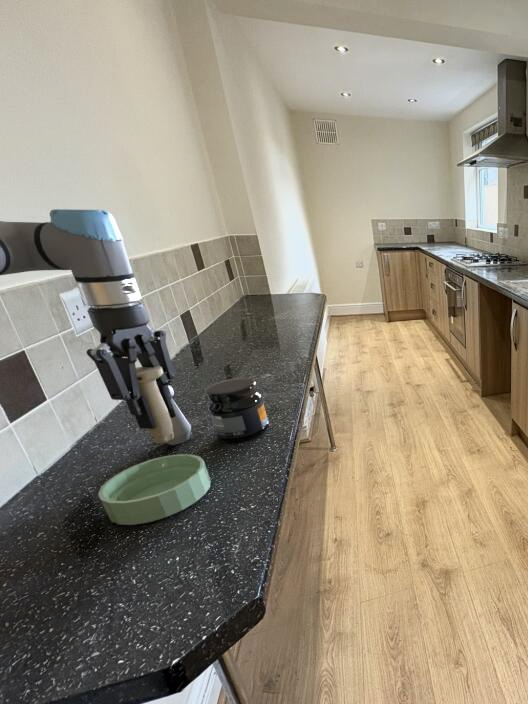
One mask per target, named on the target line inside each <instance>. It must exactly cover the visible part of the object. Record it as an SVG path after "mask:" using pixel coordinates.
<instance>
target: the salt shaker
mask: <svg viewBox="0 0 528 704" xmlns="http://www.w3.org/2000/svg"><path fill="white" fill-rule="evenodd" d="M168 387H169V390H170V393H171V396H172V397H173V396H174V395H175V392H174V388H173V387H172V386H168ZM171 403H172V406H173V409H174V412H175V414H176V416H175V417H173V418H171V421H172V426H173V432H174V438H173V439H172V440H169V441H167V442H165V443H166V444H167V445H170V446H176V445H180V444H183V443H185V442H186V441H188V440H190V438H191V431H192V426H191V424H190V422H189V421H188V420H187V418H186V417H185V415H184V414H183V412H182V411H181V409H180V408H179V406H178V405H177V403H176V402H175V400H174V399H173V398H172V399H171ZM165 443H164V444H165Z"/></svg>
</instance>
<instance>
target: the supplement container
mask: <svg viewBox="0 0 528 704" xmlns="http://www.w3.org/2000/svg"><path fill="white" fill-rule="evenodd" d="M204 394H205V396H206V399H207V400H208V401H207V403H206V409H207V410H208V413H209V416H210V419H211V422H212V425H213V428H214V432H215V436H216V437H217V439H218V440H219V441H221V442H224V443H231V444H233V443H242V442H247V441H249V440H253V439H255V438H257V437H259V436H262V435H263V434H264V433H265V432H266V431H267V430H268V428H269V426H270V421H269V419H268V415H267V412H266V411H267V410H266V409H265V404H264V400H263V394H262V393H261V392H260V391H259V390H258V385H257V381H256V380H255V379H253V378H249V377H236V378H229V379H225V380H221V381H218V382H215V383H213V384H210V385H209V386H207V387H206V388H205V390H204Z"/></svg>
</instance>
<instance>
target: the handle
mask: <svg viewBox="0 0 528 704" xmlns="http://www.w3.org/2000/svg"><path fill="white" fill-rule="evenodd" d="M136 372H137V375H136V377H137V379H138V385H139V391H140V396H145V397H146V400H147V402H148V405H149V408H150V410H151V413H152V416H153V419H154V421H155V424H156V428H154V429H147V431H148V432H149V434H150V436H152V440H153V441H154V443H155V444H160V443H161V444H165V442H167V441H169V440H172V439H173V438H174V432H173V426H172V421H171V418H170V415H169V412H168V409H167V407H166V405H165V403H164V400H163V398H162V396H161V394H160V391H159V389H158V386H157V383H156V379H157V378H159V377H160V376H161V375H162V374H163V370H162V367H161V366H157V367H142V366H138V367H137V366H136Z"/></svg>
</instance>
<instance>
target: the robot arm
mask: <svg viewBox="0 0 528 704" xmlns="http://www.w3.org/2000/svg"><path fill="white" fill-rule="evenodd" d="M49 218H50V221H45V222H33V221H32V222H31V221H4V220H3V221H2V220H0V276H7V275H13V274H20V273H26V272H27V273H28V272H36V271H37V272H39V271H71V273H72V276H73V278H74V280H75V283H76V286H77V289H78V291H79V293H80V296H81V299H82V302H83V305H85V306H88V309H87V310H86V311H87V314H88V316H89V319H90V322H91V324H92V326H93V328H94V329H95V330H97V331H98V333H99V335H100V337H99V342H100V344H99V345H98V346H96V347H95V348H88V349H87V350H86V355H87V356H88V357H89V358H90V359H91V361H93V362H94V364H95V367H96V368H97V370H98V373H99V375H100V377H101V379H102V381H103V384H104V386H105V388H106V391H107V393H108V394H109V397H110V398H111V400H113V401H125V403H126V406H127V408H128V410H129V413H130V414H131V415H132V416H134V417H135V420H136V422H137V426H138V427H139V429H145V430H146V429H147V430H148V429H154V428H156V424H155V421H154V419H153V416H152V413H151V410H150V408H149V405H148V402H147V400H146V397H145V396H140V391H139V385H138V379H137V377H136V375H137V372H136V368H137V365H136V362H137V361H138V362H139V364H140V366H141V367H157V366H161V367H162V370H163V374H162V375H161V376H160V377H159V378H157V379H156V383H157V386H158V389H159V391H160V394H161V396H162V398H163V400H164V403H165V405H166V407H167V409H168V412H169V415H170V418H173V417H175V416H176V414H175V412H174V409H173V406H172V403H171V399H173V398H172V397H173V396H171V393H170V390H169V387H168V386H170V387H172V385H173V381H172V380H174V379H175V378H176V373H175V369H174V366H173V363H172V360H171V355H170V353H169V349H168V345H167V332H166V331H165V330H156V329H155V330H154V329H151V328H150V326H149V325H148V324H149V323H150V318H149V315H148V312H147V309H146V306H145V303H144V304H143V303H142V302H140V301H141V300H142V299H143V297H142V294H141V291H140V289H139V286H138V283H137V279H136V277H135V274H134V272H133V269H132V265H131V263H130V260H129V256H128V253H127V250H126V246H125V243H124V237H123V236H122V235H121V234H122V233H121V232H120V230H119V227H118V225H117V222H116V219H115V217H114V216H113V215H112V214H111V213H110V212H109V211H107V210H104V209H65V208H64V209H61V208H60V209H58V208H57V209H55V208H54V209H52V210H50V212H49Z"/></svg>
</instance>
